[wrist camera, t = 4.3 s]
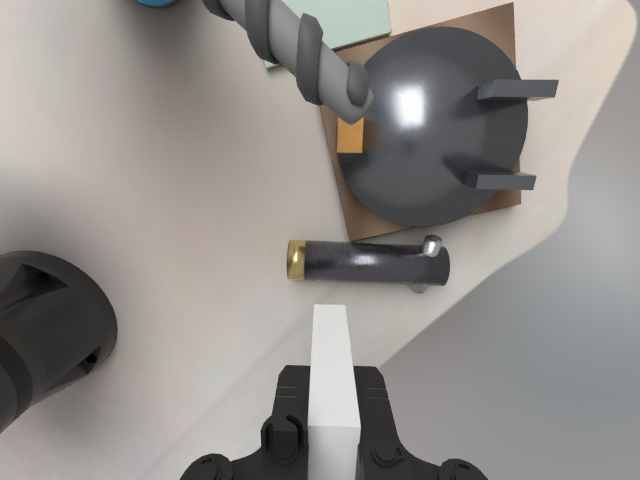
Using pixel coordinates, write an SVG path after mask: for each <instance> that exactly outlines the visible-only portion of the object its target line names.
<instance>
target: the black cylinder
mask: <svg viewBox="0 0 640 480" xmlns="http://www.w3.org/2000/svg"><path fill="white" fill-rule="evenodd" d="M441 244H442V239H441V238H440V237H438V236H436V235H427V236H426V237H425V240H424V244H423V246H421V245H397V244H374V243H350V242H326V241H303V240H290V241H289V245H288V252H287V278H288V279H296V280H319V281H341V282H364V283H387V284H410V285H411V289H412V290H413V291H414V292H416V293H424V292H425V290H426V287H427V285H433V286H444V285H445V284H446V282H447V280H448V277H449V271H450V260H449V255H448V252H447V249H446V248H445V247H443V246H441Z"/></svg>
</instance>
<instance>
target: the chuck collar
mask: <svg viewBox="0 0 640 480" xmlns="http://www.w3.org/2000/svg"><path fill="white" fill-rule="evenodd" d="M363 66H364V68H365V70H366V72H367V74H368V77H369V88H370V89H371V91H372V93H373V95H374V102H373V104H372V106H371V108H370V109H369V110H368V112H367V113H366V114H365V115H364V116H363V118H362V119H361V120H359V121H358V122H356V123H355V124H351V125H350V124H348V123H346V122H344V121H343V120H341V119H340V118H339V117H338V118H337V123H336V133H335V139H336V151H337V157H338V161H339V164H340V168H341V171H342V173H343V175H344V178H345V180H346V182H347V184H348V185H349V187H350V189H351V190H352V192H353V193H354V194H355V196H356V197H357V198H358V199H359V201H360V202H362V203H363V204H364V205H365V206H366V207H367V208H368V209H369V210H371V211H372V212H374V213H375V214H377V215H378V216H380V217H382V218H384V219H386V220H389V221H391V222H394V223H397V224H402V225H406V226H416V227H426V226H436V225H442V224H445V223H449V222H452V221H455V220H457V219H460V218H462V217H464V216H466V215H468V214H470V213H471V212H473V211H475V210H476V209H478V208H479V207H481V206H482V205H483V204H485V203H486V202H487V201H488V200H489V199H490V198H491V197H493V196H494V195H495V194H496V193H497V191H498V190H499V189H503V190H533V188H534V184H535V180H536V175H531V174H526V173H521V172H512V171H513V169H514V167H515V166H516V164H517V162H518V159H519V157H520V154H521V152H522V149H523V145H524V142H525V138H526V132H527V125H528V107H527V101H535V100H541V99H547V98H553V97H555V94H556V90H557V86H558V81H559V80H521V78H520V76H519V73H518V71H517V70H516V68H515V66H514V65H513V63H512V61H511V60H510V59H509V58H508V56H507V55H506V54H505V53H504V52H503V51H502V50H501V49H500V48H499V47H498V46H497V45H495V44H494V43H493V42H491V41H490V40H488V39H487V38H485V37H484V36H482V35H479V34H477V33H475V32H472V31H470V30H466V29H461V28H457V27H446V26H441V27H429V28H424V29H419V30H415V31H413V32H410V33H407V34H404V35H402V36H400V37H398V38H396V39H395V40H393V41H391V42H389V43H388V44H386V45H385V46H384V47H382V48H381V49H379V50H378V51H377V52H376V53H375V54H374V55H373V56H372V57H371V58H369V59H368V60H367V62H366V63H365V64H364V65H363Z"/></svg>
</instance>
